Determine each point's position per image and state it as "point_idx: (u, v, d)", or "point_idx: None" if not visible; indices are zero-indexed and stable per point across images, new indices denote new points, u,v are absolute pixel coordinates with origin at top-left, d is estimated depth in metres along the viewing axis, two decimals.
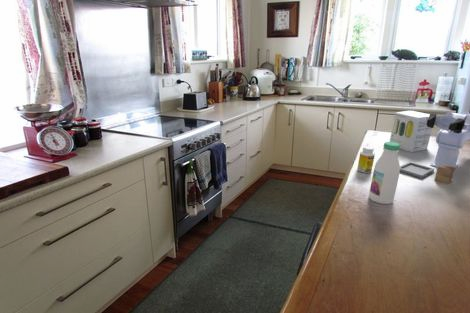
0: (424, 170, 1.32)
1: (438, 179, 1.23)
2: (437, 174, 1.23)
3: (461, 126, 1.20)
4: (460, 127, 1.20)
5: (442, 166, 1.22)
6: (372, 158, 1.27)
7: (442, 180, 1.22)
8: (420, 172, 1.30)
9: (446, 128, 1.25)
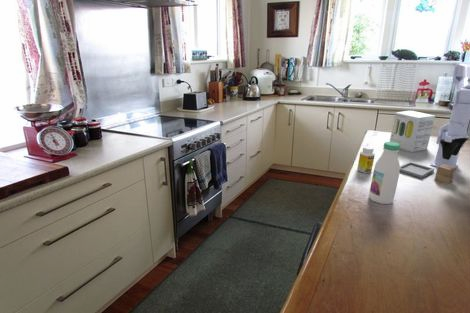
0: (424, 170, 1.32)
1: (438, 179, 1.23)
2: (437, 174, 1.23)
3: None
4: None
5: (442, 166, 1.22)
6: (372, 158, 1.27)
7: (442, 180, 1.22)
8: (420, 172, 1.30)
9: None
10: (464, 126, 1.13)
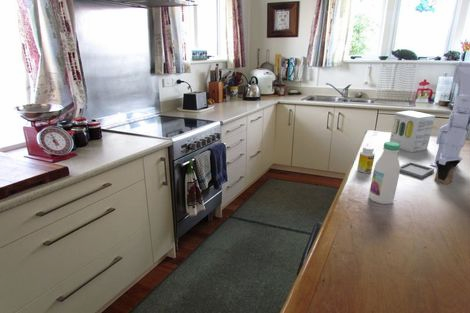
0: (424, 170, 1.32)
1: (438, 179, 1.23)
2: (437, 174, 1.23)
3: None
4: None
5: None
6: (372, 158, 1.27)
7: (442, 180, 1.22)
8: (420, 172, 1.30)
9: None
10: (458, 149, 1.16)
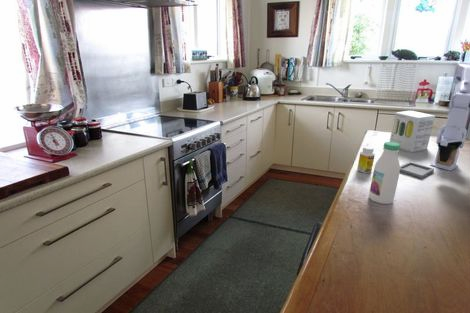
0: (424, 170, 1.32)
1: (440, 161, 1.21)
2: (439, 157, 1.21)
3: None
4: None
5: None
6: (372, 158, 1.27)
7: (444, 162, 1.20)
8: (420, 172, 1.30)
9: None
10: (460, 130, 1.15)
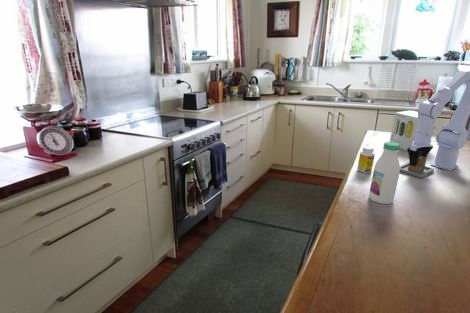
0: (424, 170, 1.32)
1: (411, 168, 1.31)
2: None
3: None
4: None
5: None
6: (372, 158, 1.27)
7: (414, 169, 1.30)
8: None
9: None
10: (428, 136, 1.24)
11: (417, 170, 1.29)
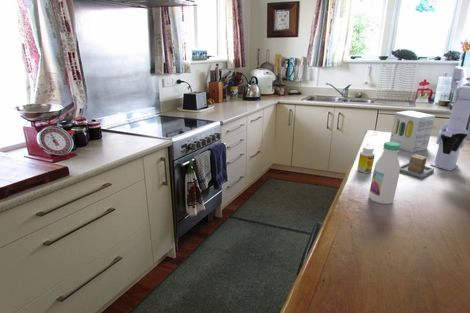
0: (424, 170, 1.32)
1: (411, 168, 1.31)
2: (410, 164, 1.31)
3: None
4: None
5: (414, 156, 1.30)
6: (372, 158, 1.27)
7: (414, 169, 1.30)
8: None
9: None
10: (464, 122, 1.18)
11: (417, 170, 1.29)
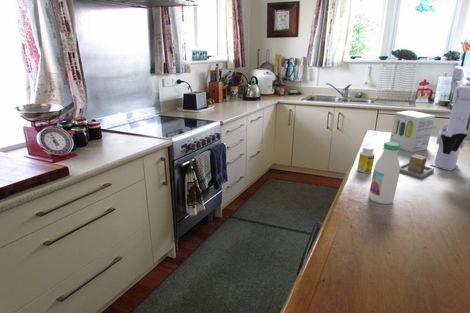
0: (424, 170, 1.32)
1: (411, 168, 1.31)
2: (410, 164, 1.31)
3: None
4: None
5: (414, 156, 1.30)
6: (372, 158, 1.27)
7: (414, 169, 1.30)
8: None
9: None
10: (464, 122, 1.18)
11: (417, 170, 1.29)
